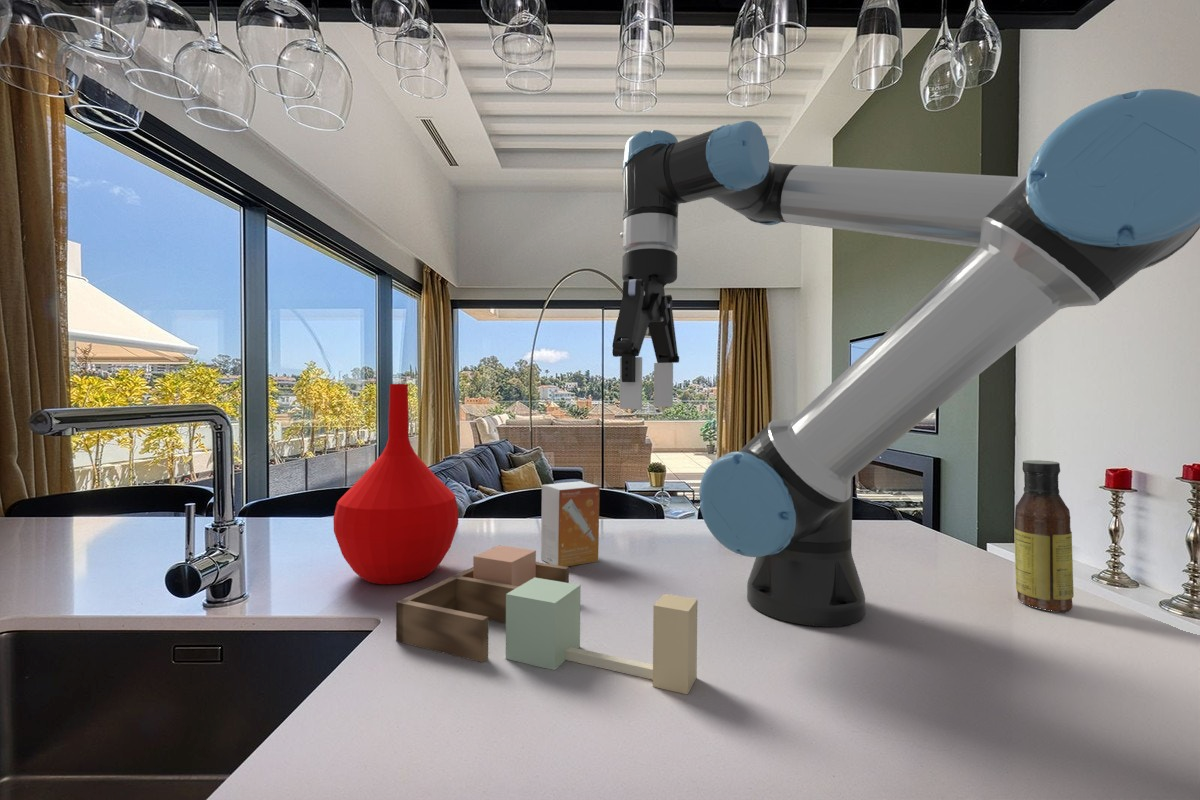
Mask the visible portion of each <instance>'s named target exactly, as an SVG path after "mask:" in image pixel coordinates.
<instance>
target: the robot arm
mask: <svg viewBox="0 0 1200 800" xmlns="http://www.w3.org/2000/svg"><path fill="white" fill-rule="evenodd" d="M763 133H764V132H763V129H762V128H761V127H760V125H758V124H757V123H756V122H755V121H752V120H743V121H740V122H736V123H732V124H726V125H721V126H718V127H717V128H715V129H712V130H709V131H706V132H703V133H701V134H697V135H695V136H692V137H689V138H687V139H683V140H680V141H678V138H677V137H676V136H675V135H674V134H673V133H671V132H668V131H666V130H661V129H652V130H651V131H647V130H642V131H639V132H637V133H635V134H634V135H631V136H630V137H629V138H628V139H627V141H626V143H625V147H624V153H623V165H622V168H621V175H622V191H623V192H622V194H623V215H622V216H623V217H622V231H621V232H619V233H620V234H619V236H620V239H622V250H623V251H624V252H625V253H624V254H623V255H622V260H621V261H622V262H621V263H622V271H621V272H622V273H621V274H622V276H621V278H622V281H623V282H622V283H623V285H622V298H621V301H620V302H621V303H620V306H619V307H620V308H619V312H618V316H617V322H616V326H615V331H614V337H613V339H612V340H613V341H612V356H613V357H616V358H617V357H618V358H619V357H620V358H619V409H621V410H622V409H623V410H624V409H625V410H642V408H643V356H639V355H640V353H641V350H642V346H643V345H644V344H643V343H644V339H645V337H646V334H647V330H648V329H649V335H650V339H651V343H652V346H653V351H654V355H655V359H656V362H654V363H653V407H655V408H656V407H658V408H673V407H674V406H673V405H674V404H673V403H674V400H673V399H674V363H676V364H677V363H679V362H680V356H679V352H678V348H677V347H678V345H677V338H676V330H675V328H676V327H675V322H674V313H673V297H672V294H665V286H667V285H668V284H669V285H670V284H673V283H675V282H676V281H677V279H678V255H677V254H676V253H675V252H676V251H677V250H678V248H679V244H678V243H679V222H678V221H679V217H678V216H679V205H681V204H686V203H691V202H694V201H699V200H703V199H707V198H708V199H709V198H710V199H711V198H712V199H714V200H715V201H717V202H719V203H721V204H723V205H724V206H727V207H728V208H730V209H732V210H734V211H735V212H737V213H738V214H740V215H742V216H744V217H745V218H746V219H748V220H750V221H751V222H753V223H757V224H760V225H764V226H774V225H778V224H780V223H789V224H797V225H805V226H811V227H812V226H813V227H819V228H827V229H833V230H834V229H836V230H844V231H851V232H859V233H868V234H874V235H880V236H881V235H883V236H890V237H898V238H905V239H914V240H920V241H921V240H922V241H928V242H935V243H937V242H938V243H943V244H953V245H960V246H967V247H975V248H976V249H974V250H973V251H972V252H971V253H970V254H969V255H968V256H967V257H966V258H965V259H964V260H963V261H962V262H961V263H960V264H958V265H957V266H956V267H955V268H954V269H953V270H951V272H950V273H949V274H948V275H947V276H945V278H943V279H942V280H941V281H940V282H939V283H938V284H936V286H935V287H934V288H932V290H930V292H928V293H927V294H926V295H925V296H924V297H923V298H922V299H920V301H919V302H917V304H915V305H914V306H913V307H912V308H911V309H910V310H908V312H907V313H906V314H905V315H904V316H903V317H901V318H900V319H899V321H897V322H896V323H895V324H894V325H893V326H892V327H891V328H889V330H887V331H886V332H885V333H884V334H882V336H881V337H880V338H879V339H877V340H876V342H875V343H874V344H872V345H871V346H870V347H869V348H868V349H867V350H866V351H865V352H864V353H862V354H861V356H859V358H857V359H856V360H855V361H854V362H853V363H852V364H851V365H850V366H849V367H848V368H847V369H845V370H844V371H843V372H842V373H841V374H840V375H839V376H837V378H836V379H835V380H834V381H832V383H831V384H829V386H827V387H825V389H824V390H823V391H822V392H821V393H820V394H818V396H816V398H814V400H812V401H811V402H810V403H809V404H808V405H807V406H806V407H804V409H803V410H802V411H801V412H799V413H798V414H797V415H796V416H795V417H794V418H793V419H787V418H786V419H781V418H780V419H779V418H778V419H777V418H776V419H775V418H774V419H772V420H771V421H770V422H768V423H767V424H766V425H765V427H764V428H763V429H761V430H760V431H759V432H758V433H757V434H756V435H755V436H753V438H752V439H750V440H749V442H747V443H746V444H745V445H744V446H743V447H742V448H741V449H739V451H731V452H729V453H725V454H723V456H719V457H718V458H717V459H716V460H713V462H712V463H711V464H710V465H709V466H708V467H707V468H706V470H705V472H704V473H703V475H702V478H701V481H700V483H699V484H700V485H699V491H698V492H699V493H698V494H699V509H700V512H701V516H702V518H703V521H704V523H705V525H706V527H707V529H708V530H709V532H710V533H711V534H712V536H713V537H714V538H715V540H716V541H717V542H718V543H720V545H722V547H723V546H724V547H725V548H726V549H728V550H729V551H731V552H733V553H734V554H736V555H740V556H743V557H750V558H755V560H754V562H753V565H752V568H751V571H750V574H749V577H748V580H747V586H746V588H747V589H746V592H747V593H746V599H747V602H748V603H749V605H750V606H751V607H753V608H754V609H755V610H756V611H758V612H760V613H762V614H764V615H767V616H769V617H772V618H774V619H777V620H781V621H785V622H788V623H792V624H798V625H804V626H813V627H815V626H816V627H842V626H847V625H848V626H849V625H852V624H855V623H858V622H860V621H861V620H863V619H864V618H865V615H866V594H865V591H864V589H863V585H862V583H861V579H860V575H859V573H858V569H857V567H856V564H855V560H854V557H853V553H852V544H853V543H852V537H853V489H854V487H853V486H854V485H853V481H854V480H853V478H854V476H856V475H857V474H858V473H859V472H860V471H862V470H863V469H864V468H865V467H866V466H867V465H869V464H870V463H871V462H873V460H875V459H877V458H878V457H879V456H880V455H881V454H883V453H884V452H885V451H886V450H887V449H889V448H890V447H891V446H893V444H895V443H896V442H897V441H899V440H900V439H901V438H903V436H904V435H906V434H907V433H908V432H910V431H911V430H912V429H914V428H915V427H916V426H917V425H918V424H920V423H922V421H923V420H925V419H926V418H927V417H929V416H930V415H931V414H932V413H933V412H934V411H936V410H937V409H939V408H940V407H941V406H942V405H944V403H946V402H947V401H948V400H949V399H951V398H952V397H953V396H954V395H955V394H956V393H958V392H959V391H961V390H962V389H963V388H964V387H965V386H966V385H968V384H969V383H971V382H972V381H973V380H974V379H975V378H977V377H978V376H979V375H980V374H982V373H983V372H984V371H985V370H986V369H988V368H989V367H991V366H992V365H993V364H994V363H995V362H996V361H998V360H999V359H1000V358H1002V357H1003V356H1004V355H1006V353H1008V351H1010V350H1011V349H1013V348H1014V347H1015V346H1016V345H1017V344H1019V343H1020V342H1021V341H1022V340H1024V339H1025V338H1026V337H1027V336H1028V335H1030V334H1031V333H1032V332H1033V331H1035V330H1037V328H1039V327H1040V326H1041V325H1042V324H1044V323H1045V322H1046V321H1047V320H1049V319H1050V318H1051V317H1052V316H1054V315H1055V314H1056V313H1057V312H1058V311H1059V310H1063V309H1066V308H1073V307H1090V306H1096V305H1097V304H1099V303H1100V302H1102V301H1103V300H1104V299H1105V298H1107V297H1108V296H1109V295H1111V294H1112V293H1113V292H1114V291H1116V290H1117V289H1118V288H1120V287H1121V286H1122V285H1123V284H1125V283H1126V282H1127V281H1128V280H1130V279H1131V278H1133V277H1134V276H1135V275H1137V274H1138V273H1139V272H1140V271H1142V270H1146V269H1147V268H1150V267H1153V266H1156V265H1158V264H1159V263H1161V262H1162V261H1165V260H1167V259H1168V258H1169V257H1171V256H1173V255H1174V254H1176V253H1177V252H1178V251H1179V250H1181V249H1182V248H1184V247H1185V246H1186V245H1187V244H1188V243H1189V242H1191V240H1192V238H1193V237H1194V236H1195V235H1196V234H1197V232H1198V231H1199V230H1200V95H1197V94H1194V93H1191V92H1188V91H1183V90H1177V89H1170V88H1169V89H1168V88H1167V89H1166V88H1148V89H1141V90H1140V89H1139V90H1136V91H1135V90H1134V91H1130V92H1129V91H1128V92H1126V93H1121V94H1120V93H1119V94H1115V95H1112V96H1110V97H1106V98H1103V99H1101V100H1099V101H1097V102H1094V103H1091V104H1090V105H1088V106H1086V107H1084V108H1082V109H1080V110H1079V111H1077V112H1076V113H1074V114H1072V115H1071V116H1070V117H1068V118H1067V119H1065V120H1064V121H1063V122H1062V123H1061V124H1059V125H1058V127H1056V128H1055V129H1054V130H1053V131H1052V132H1051V133H1050V134H1049V135H1048V136H1047V138H1046V139H1045V140H1044V141H1043V143H1042V144H1041V146H1039V149H1038V150H1037V151H1036V152H1035V154H1034V156H1033V158H1032V160H1031V162H1030V164H1029V166H1028V169H1027V172H1026V173H1024V174H1021V175H1020V176H1008V175H991V174H990V175H987V174H973V173H972V174H971V173H958V172H957V173H954V172H938V171H937V172H935V171H919V170H918V171H917V170H904V169H903V170H901V169H897V170H896V169H885V168H884V169H882V168H881V169H880V168H868V167H867V168H864V167H863V168H861V167H846V166H845V167H844V166H828V165H827V166H826V165H809V164H787V163H777V162H776V163H775V162H771V161H770V151H769V144H768V141H767V137H766V136H765V135H763Z"/></svg>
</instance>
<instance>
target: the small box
mask: <svg viewBox="0 0 1200 800" xmlns="http://www.w3.org/2000/svg"><path fill="white" fill-rule="evenodd" d="M540 521H541V523H540V525H541V527H540V528H541V531H540V536H541V537H540V540H541V541H540V544H541V545H540V559H541V560H542V561H544V562H545V563H546V564H552V565H558V566H565V567H572V566H577V565H582V564H583V565H584V564H590V563H597V562H599V544H600V543H599V542H600V541H599V540H600V536H599V535H600V485H598V484H593V483H590V482H585V481H583V480H578V481H569V482H567V481H566V482H558V483H557V482H556V483H548V484H542V485H541V520H540Z"/></svg>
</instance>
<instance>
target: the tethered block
mask: <svg viewBox="0 0 1200 800" xmlns="http://www.w3.org/2000/svg"><path fill="white" fill-rule="evenodd" d="M652 608H653V610H652V611H653V613H652V614H653V617H652V618H653V621H652V624H653V625H652V630H653V631H652V633H653V634H652V638H653V639H652V663H647V662H643V661H638V660H633V659H629V658H623V657H619V656H615V655H610V654H605V653H600V652H597V651H592V650H586V649H583V648H580V647H581V584H576V583H570V582H569V583H565V582H559V581H553V580H547V579H541V578H535V577H534V578H533V579H531V580H529V581H528V582H526V583H524V584H522V585H521V586H519V587H517V588H516V589H514V590H512V591H510V592H509V593H507V594H506V623H505V659H507V660H510V661H514V662H517V663H518V662H519V663H522V664H526V665H530V666H535V667H539V668H544V669H548V670H553V671H556V670H557V669H558V668H559V667H560V666H561V665H562V664H563V663H564V662H565V661H569V662H573V663H579V664H582V665H586V666H591V667H596V668H600V669H604V670H605V669H606V670H608V671H614V672H618V673H621V674H627V675H630V676H635V677H640V678H643V679H644V678H645V679H647V680H652V687H653V688H658V689H663V690H666V691H669V692H671V691H672V692H675V693H680V694H684V695H688V694H689V692H690V690H691V689H692V687H693V685H694V684H695V681H696V679H697V677H698V676H697V675H698V674H697V673H698V671H697V669H698V668H697V667H698V666H697V665H698V661H697V660H698V657H697V656H698V598H694V597H687V596H682V595H681V596H680V595H676V594H675V595H674V594H670V593H669V594H668V593H664V594H662V596H661V597H660V598H659V599H657V601H656V602H655V603H654V605H653V607H652Z"/></svg>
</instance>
